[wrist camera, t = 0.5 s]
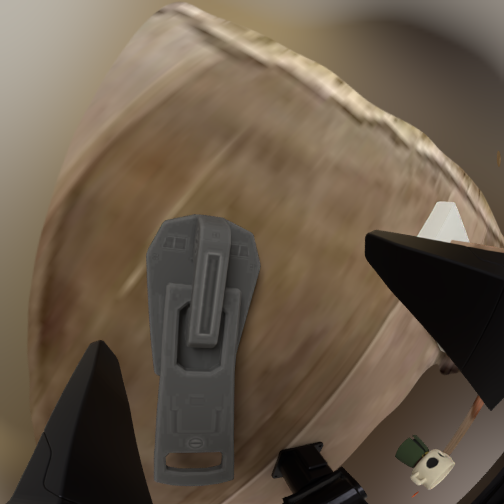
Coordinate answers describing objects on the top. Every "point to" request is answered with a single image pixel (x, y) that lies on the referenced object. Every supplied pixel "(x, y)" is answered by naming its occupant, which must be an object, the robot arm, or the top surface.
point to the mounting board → (444, 225)
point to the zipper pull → (198, 338)
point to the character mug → (424, 462)
